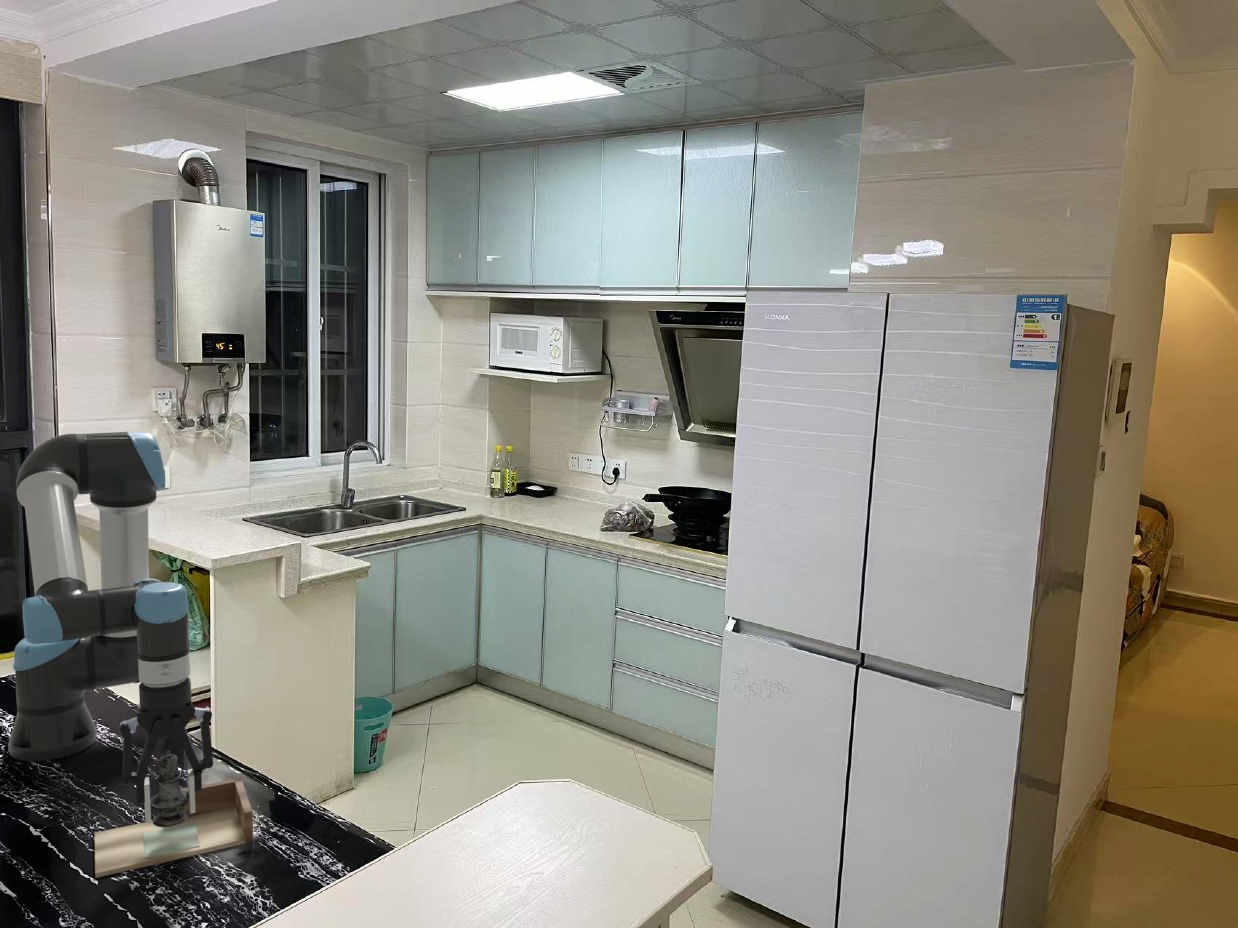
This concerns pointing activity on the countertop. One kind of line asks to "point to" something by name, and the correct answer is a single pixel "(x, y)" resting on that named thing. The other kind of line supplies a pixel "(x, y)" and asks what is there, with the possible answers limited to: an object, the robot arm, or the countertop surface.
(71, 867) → the countertop surface
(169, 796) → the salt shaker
